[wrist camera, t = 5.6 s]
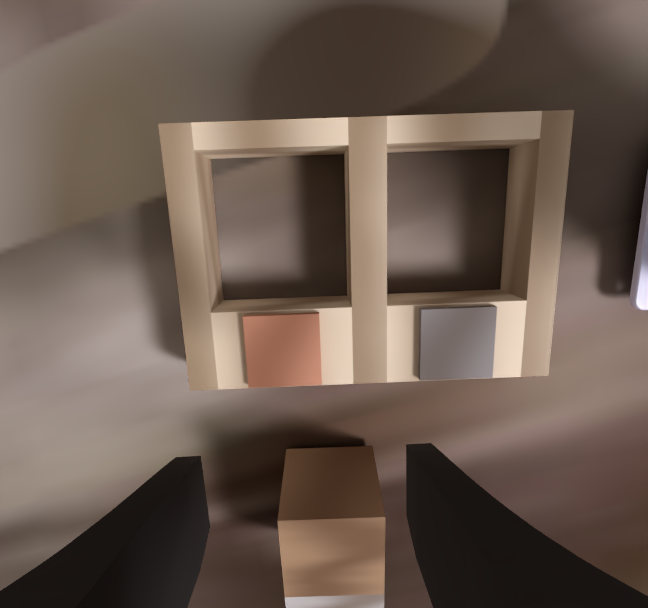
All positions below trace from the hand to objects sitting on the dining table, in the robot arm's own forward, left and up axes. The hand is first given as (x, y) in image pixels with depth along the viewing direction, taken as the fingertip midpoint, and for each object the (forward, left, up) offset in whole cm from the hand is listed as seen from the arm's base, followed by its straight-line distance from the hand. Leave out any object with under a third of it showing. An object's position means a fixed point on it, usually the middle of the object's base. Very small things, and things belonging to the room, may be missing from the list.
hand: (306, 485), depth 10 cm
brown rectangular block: (-1, +6, -8) cm, 10 cm away
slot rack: (-3, -5, -10) cm, 12 cm away
